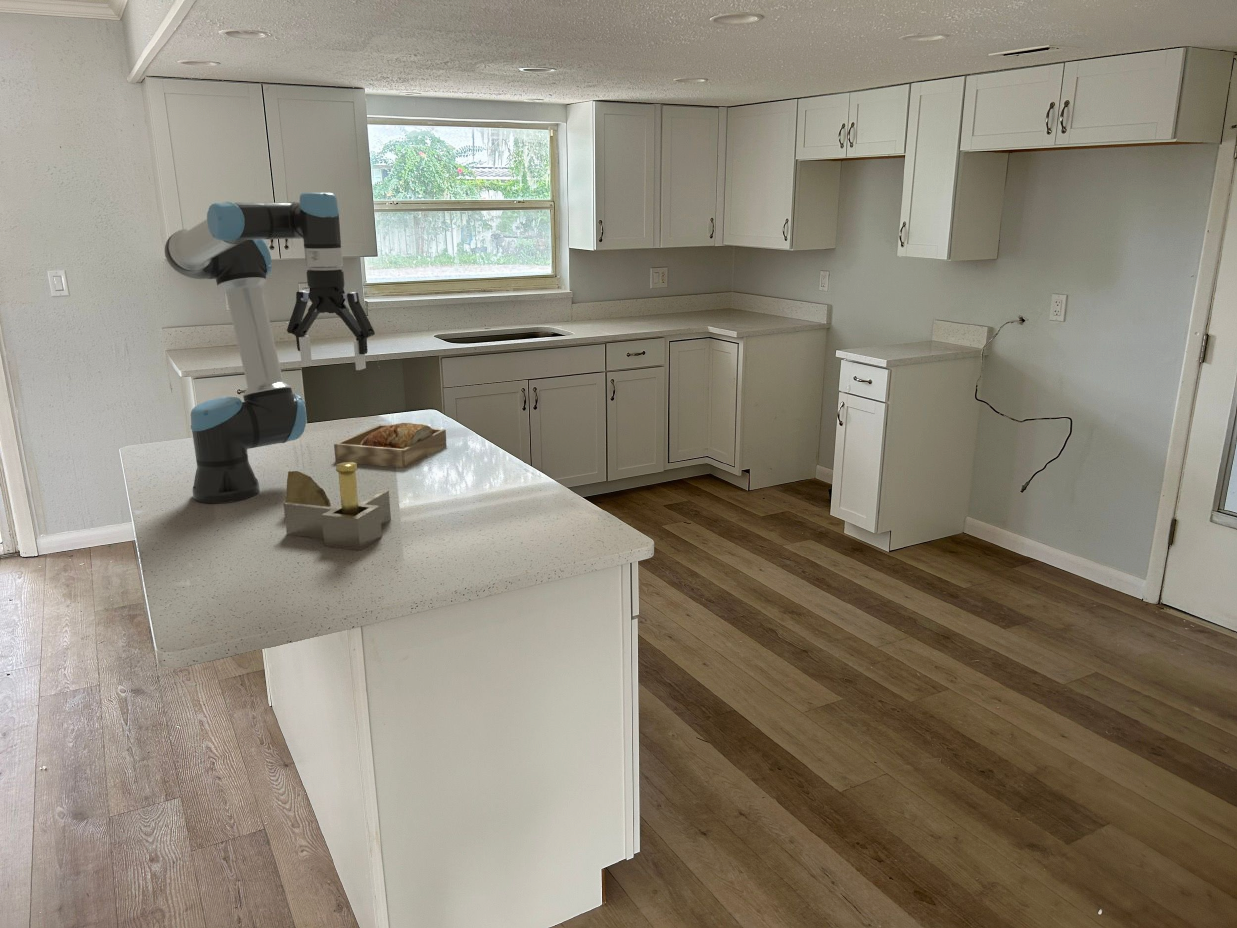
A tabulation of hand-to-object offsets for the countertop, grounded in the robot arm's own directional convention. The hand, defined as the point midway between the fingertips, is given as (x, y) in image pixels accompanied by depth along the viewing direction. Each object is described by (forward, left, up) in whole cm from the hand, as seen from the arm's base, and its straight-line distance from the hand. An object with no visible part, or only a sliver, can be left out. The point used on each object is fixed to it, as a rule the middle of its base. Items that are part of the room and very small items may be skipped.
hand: (333, 367), depth 194 cm
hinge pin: (+10, -13, -34) cm, 37 cm away
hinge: (+4, -8, -35) cm, 36 cm away
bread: (-16, +50, -35) cm, 64 cm away
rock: (-11, +1, -35) cm, 37 cm away
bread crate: (-18, +51, -35) cm, 64 cm away
